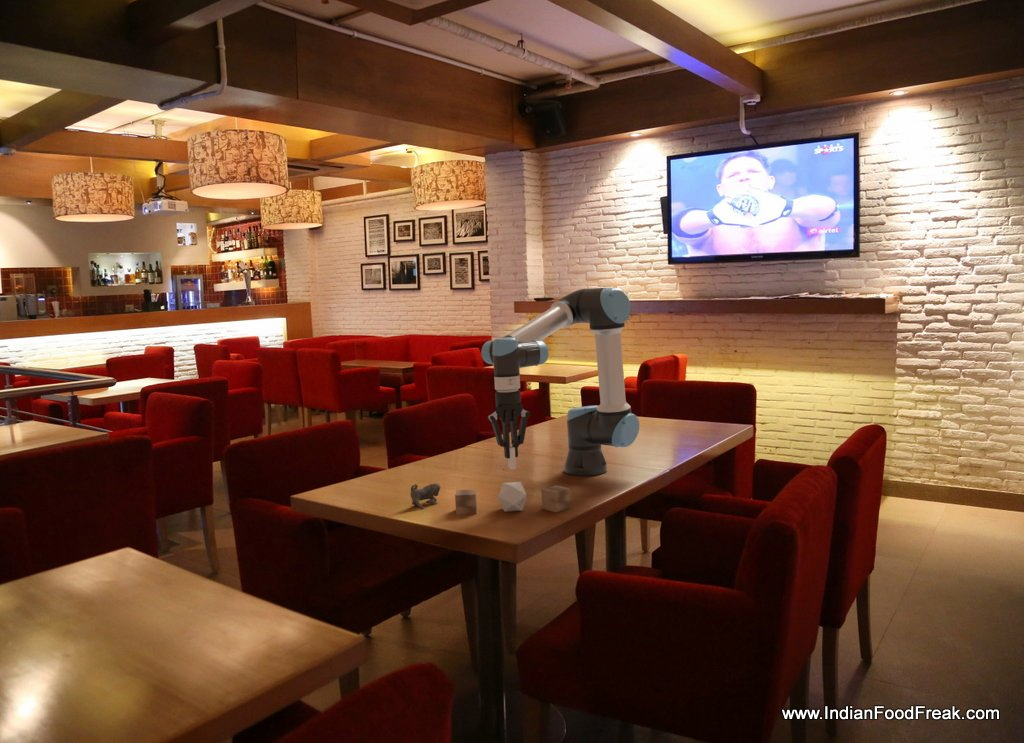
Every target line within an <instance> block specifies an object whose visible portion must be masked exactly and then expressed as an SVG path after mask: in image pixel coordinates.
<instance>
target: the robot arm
mask: <svg viewBox="0 0 1024 743" xmlns="http://www.w3.org/2000/svg"><path fill="white" fill-rule="evenodd" d="M631 308H632V307H631V301H630V299H629V296H628V295H627V293H625V292H624V290H622V289H620V288H618V287H610V286H609V287H608V286H607V287H595V288H594V287H593V288H581V289H578V290H575V291H573V292H570V293H568V294H566V295H565V296H563V297H561V298H559V299H557V300H555V302H553V303H552V304H551V305H550V308H548V309H547V310H545V311H544V312H542V313H540V314H538V315H536V317H534V318H532V319H530V320H529V321H527V322H526V323H523V325H520V326H519V327H517V328H516V329H514V330H512V331H511V332H509V333H507V334H506V335H504V336H503V337H498V338H494V339H493V340H488V341H486V342H485V343H484V344H483V345H482V348H481V353H480V354H481V358H482V359H483V361H484V362H485V363H486V364H488V365H493V374H494V378H493V380H494V389H495V392H494V393H495V394H494V395H495V396H494V397H495V408H494V412H493V413H491V414H488V415H487V419H488V420H489V421H490V423H491V426H492V430H493V432H494V437H495V440H496V442H497V445H498V446H499V447H503V452H504V454H503V455H504V458H505V459H507V468H508V469H509V470H511V471H512V470H516V469H517V462H516V458H518V457H519V447H520V445H523V444H524V441H525V436H526V430H527V424H528V419H529V418H530V416H531V412H530V411H528V410H525V409H524V407H523V405H522V395H521V394H522V393H521V390H520V389H521V377H520V375H521V373H520V369H522V368H527V367H528V368H529V367H534V366H535V367H538V366H540V365H543V364H545V363H547V361H548V358H549V354H550V353H549V348H548V345H547V344H546V343H545V342H544V341H543V340H544V339H546V338H548V337H549V336H551V335H552V334H554V333H555V332H557V331H559V330H561V329H562V328H569V327H570V326H572V325H575V324H584V323H585V324H589V330H590V331H591V333H593V334H594V342H595V351H596V352H595V353H596V365H597V366H596V367H597V378H598V389H599V401H600V404H599V405H586V406H578V407H574V408H570V409H569V410H568V412H567V416H566V417H567V420H566V424H567V440H568V441H567V443H568V449H567V450H568V451H567V455H566V458H565V462H564V465H563V467H564V470H563V471H564V473H566V474H567V475H570V476H571V475H572V476H581V477H582V476H583V477H584V476H596V475H602V474H605V473H606V472H607V471H608V465H607V461H606V458H605V455H604V452H603V449H602V446H609V447H614V448H628V447H631V445H632V444H634V442H635V441H636V439H637V438H638V436H639V432H640V420H639V418H638V417H637V415H636V414H634V413H632V407H631V405H630V404H629V403H628V402H627V399H626V388H625V375H624V374H625V373H624V372H625V371H624V360H623V358H624V357H623V349H622V348H623V347H622V335H621V334H622V333H621V332H622V331H623V330H624V329H625V327H626V326H625V323H626V322H627V321H628V320H629V318H630V315H631V313H632V312H631V311H632V309H631ZM520 416H521V417H520ZM498 418H499V419H500V421H501V426H502V432H501V429H500V425H499V422H498V421H497V420H498ZM519 418H520V420H519ZM518 420H519V421H520V422H519V425H518ZM518 426H519V427H518ZM510 440H511V442H510Z"/></svg>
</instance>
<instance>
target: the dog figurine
mask: <svg viewBox="0 0 1024 743" xmlns="http://www.w3.org/2000/svg"><path fill="white" fill-rule="evenodd" d="M418 487H419V486H418V485H417V483H416V484H413V485H412V486H411V487H410V494H409V495H410V498H411V501H412V502H411V505H413V506H417V507H418V508H421V509H422V510H424V509H425V506H423V505H422V504H421V503H420V502H421V501H425V500H427V501H425V502H426V503H427V504H429V505H438V502H437V498H436V497H438V496H439V494H440V493H439V492H440V491H441V484H440V483H430V484H428V485H425V486H423V487H422V488H418Z"/></svg>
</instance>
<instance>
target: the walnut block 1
mask: <svg viewBox="0 0 1024 743" xmlns="http://www.w3.org/2000/svg"><path fill="white" fill-rule="evenodd" d="M454 500H455V502H454V503H455V515H456V516H459V515H463V516H464V515H465V516H466V515H477V512H478V502H477V488H475V489H473V488H472V489H457V490H455V493H454Z"/></svg>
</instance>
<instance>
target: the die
mask: <svg viewBox="0 0 1024 743" xmlns="http://www.w3.org/2000/svg"><path fill="white" fill-rule="evenodd" d="M527 497H528V496H527V493H526V491H525V488H524V486H523V484H522V482H520V481H514V482H513V481H512V482H502V484H501V488H500V491H499V493H498V495H497V498H498V501H499V502H500V505H501V508H502V510H503V512H504V513H505V512H518V511H519V512H522V511H523V509H524V506H525V504H526V500H527Z"/></svg>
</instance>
